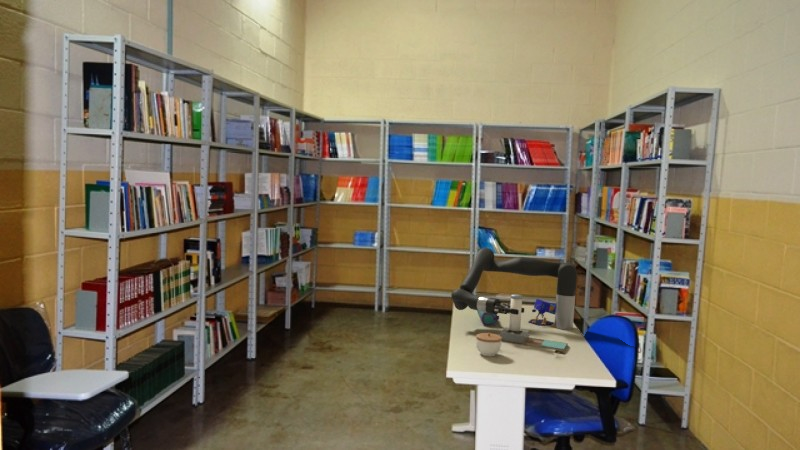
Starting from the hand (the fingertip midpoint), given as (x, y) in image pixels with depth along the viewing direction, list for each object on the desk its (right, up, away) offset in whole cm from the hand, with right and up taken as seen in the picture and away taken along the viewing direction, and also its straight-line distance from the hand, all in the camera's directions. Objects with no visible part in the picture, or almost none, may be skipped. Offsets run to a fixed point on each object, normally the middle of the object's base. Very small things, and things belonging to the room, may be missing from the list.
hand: (520, 311), depth 260 cm
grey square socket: (-2, -13, +3) cm, 14 cm away
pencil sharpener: (+21, -13, +41) cm, 48 cm away
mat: (+14, -14, -5) cm, 21 cm away
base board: (+5, -15, 0) cm, 16 cm away
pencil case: (-10, -12, +36) cm, 39 cm away
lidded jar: (-18, -16, -19) cm, 30 cm away
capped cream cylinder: (-2, -9, +2) cm, 9 cm away
